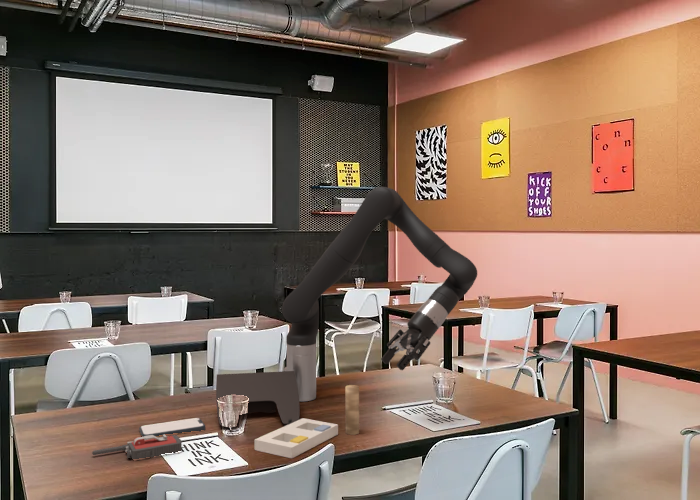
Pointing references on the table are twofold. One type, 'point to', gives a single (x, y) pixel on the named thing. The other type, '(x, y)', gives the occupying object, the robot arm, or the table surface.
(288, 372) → the portable electronic device stand
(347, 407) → the dowel
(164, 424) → the phone case
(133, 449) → the walkie-talkie
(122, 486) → the table surface
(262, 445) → the socket plate
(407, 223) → the robot arm
